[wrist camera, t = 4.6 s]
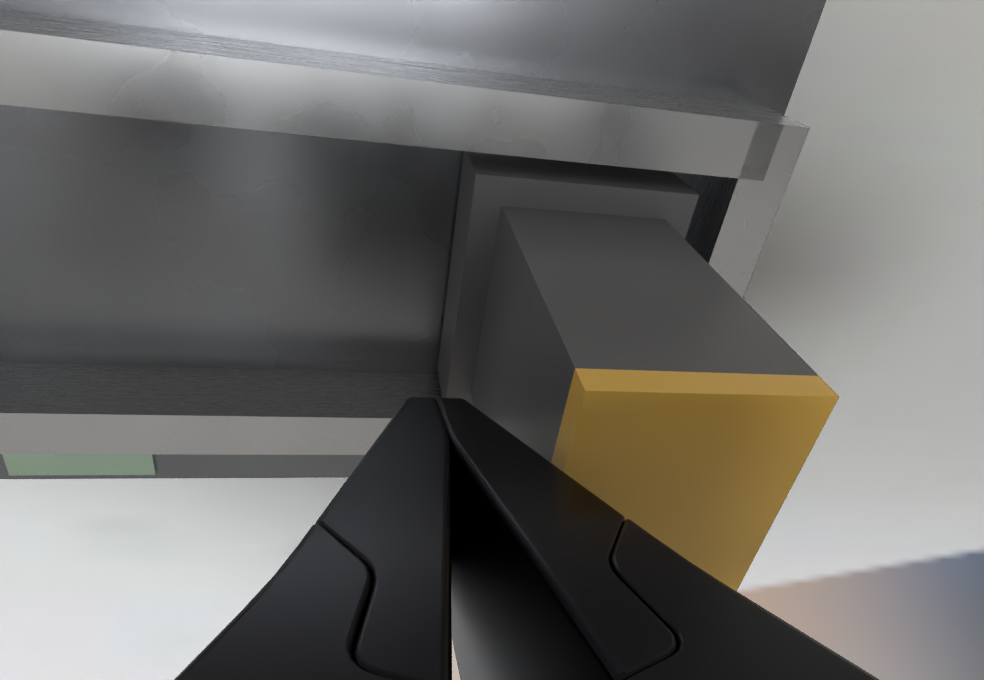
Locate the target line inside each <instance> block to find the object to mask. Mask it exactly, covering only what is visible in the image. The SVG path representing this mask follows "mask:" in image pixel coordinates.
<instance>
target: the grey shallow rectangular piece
mask: <svg viewBox="0 0 984 680" xmlns="http://www.w3.org/2000/svg"><path fill="white" fill-rule="evenodd" d="M825 2H826V0H0V479H94V478H301V477H350V475H351V474H352V472H353V471H354V470H355V468H356V467H357V466H358V464H359V463H360V461H361V460H362V459H363V457H364V456H365V455H366V453H367V452H368V450H369V449H370V448H371V446H372V445H373V444H374V442H375V441H376V440H377V438H378V437H379V435H380V434H381V433H382V431H383V430H384V429H385V427H386V426H387V424H388V423H389V422H390V420H391V419H392V418H393V416H394V415H395V413H396V412H397V411H398V409H399V408H400V407H401V405H402V404H403V403H404V401H405V400H406V399H407V398H409V397H426V398H434V399H438V398H442V396H441V389H440V382H439V375H438V361H439V353H440V345H441V336H442V328H443V320H444V311H445V303H446V295H447V287H448V278H449V270H450V262H451V254H452V245H453V237H454V229H455V220H456V212H457V204H458V196H459V187H460V179H461V171H462V162H463V154H464V151H469V152H479V153H489V154H499V155H509V156H519V157H529V158H539V159H549V160H559V161H569V162H579V163H589V164H599V165H609V166H619V167H629V168H639V169H649V170H659V171H669V172H672V173H674V174H675V175H676V176H677V177H678V178H680V179H681V180H682V181H683V182H684V183H686V184H687V185H688V186H689V187H690V188H691V189H693V190H694V191H695V192H696V193H697V194H699V197H698V200H697V203H696V206H695V209H694V212H693V216H692V219H691V222H690V225H689V228H688V231H687V234H686V237H685V240H686V241H687V242H688V243H689V244H690V245H691V246H692V247H693V248H694V249H695V250H696V251H697V252H698V253H699V254H700V256H701V257H702V258H703V259H704V260H705V261H706V262H707V263H708V264H709V265H710V266H711V267H712V268H713V269H714V270H715V271H716V272H717V273H718V274H719V275H720V276H721V277H722V278H723V279H724V280H725V281H726V282H727V283H728V284H729V285H730V286H731V287H732V288H733V289H734V290H735V291H736V292H737V293H738V294H739V295H740V296H741V297H742V298H743V297H744V294H745V291H746V289H747V286H748V284H749V281H750V279H751V276H752V274H753V271H754V268H755V266H756V263H757V261H758V258H759V256H760V253H761V251H762V248H763V246H764V243H765V240H766V238H767V235H768V233H769V230H770V228H771V225H772V223H773V220H774V217H775V215H776V212H777V210H778V207H779V205H780V202H781V200H782V197H783V195H784V192H785V189H786V187H787V184H788V182H789V179H790V177H791V174H792V172H793V169H794V166H795V164H796V161H797V159H798V156H799V154H800V151H801V149H802V146H803V144H804V141H805V138H806V136H807V133H808V131H809V127H807V126H805V125H803V124H801V123H798V122H796V121H794V120H792V119H790V118H788V117H786V116H784V114H785V111H786V108H787V106H788V103H789V100H790V97H791V95H792V92H793V89H794V87H795V84H796V81H797V78H798V76H799V73H800V70H801V68H802V65H803V62H804V59H805V57H806V54H807V51H808V49H809V46H810V43H811V40H812V38H813V35H814V32H815V30H816V27H817V24H818V21H819V19H820V16H821V13H822V10H823V8H824V5H825Z"/></svg>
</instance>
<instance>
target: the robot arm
mask: <svg viewBox="0 0 984 680" xmlns="http://www.w3.org/2000/svg"><path fill="white" fill-rule="evenodd" d="M452 640H453V645H454V650H455V655H456V659H457V664H458V669H459V674H460V679H461V680H879V679H877V678H876V677H874V676H873V675H871V674H869V673H868V672H866V671H865V670H863V669H861V668H860V667H858V666H856V665H855V664H853V663H852V662H850V661H848V660H846V659H845V658H843V657H842V656H840V655H839V654H837V653H835V652H834V651H832V650H830V649H829V648H827V647H826V646H824V645H822V644H821V643H819V642H817V641H816V640H814V639H813V638H811V637H809V636H808V635H806V634H805V633H803V632H801V631H800V630H798V629H796V628H795V627H793V626H792V625H790V624H788V623H787V622H785V621H783V620H782V619H780V618H779V617H777V616H775V615H774V614H772V613H770V612H769V611H767V610H765V609H764V608H762V607H761V606H759V605H757V604H756V603H754V602H752V601H751V600H749V599H748V598H746V597H745V596H743V595H741V594H740V593H738V592H736V591H735V590H733V589H732V588H730V587H729V586H727V585H725V584H724V583H722V582H721V581H719V580H718V579H716V578H714V577H713V576H711V575H710V574H708V573H707V572H705V571H704V570H702V569H700V568H699V567H697V566H696V565H694V564H693V563H691V562H689V561H688V560H687V559H685V558H684V557H682V556H681V555H679V554H678V553H677V552H675V551H674V550H672V549H671V548H669V547H668V546H667V545H665V544H664V543H662V542H661V541H659V540H658V539H656V538H655V537H654V536H652V535H651V534H649V533H648V532H647V531H645V530H644V529H643V528H641V527H640V526H638V525H637V524H636V523H634V522H633V521H632V520H630V519H626V520H625V517H624V516H623V515H622V514H620V513H619V512H618V511H616V510H615V509H614V508H612V507H611V506H609V505H608V504H607V503H605V502H604V501H603V500H601V499H600V498H599V497H597V496H596V495H594V494H593V493H592V492H590V491H589V490H588V489H586V488H585V487H583V486H582V485H581V484H579V483H578V482H577V481H575V480H574V479H573V478H571V477H570V476H568V475H567V474H566V473H564V472H563V471H562V470H560V469H559V468H558V467H556V466H555V465H553V464H552V463H551V462H549V461H548V460H547V459H545V458H544V457H543V456H541V455H540V454H538V453H537V452H536V451H534V450H533V449H532V448H530V447H529V446H528V445H526V444H525V443H523V442H522V441H521V440H519V439H518V438H517V437H515V436H514V435H513V434H511V433H510V432H508V431H507V430H506V429H504V428H503V427H502V426H500V425H499V424H498V423H496V422H495V421H493V420H492V419H491V418H489V417H488V416H487V415H485V414H484V413H483V412H481V411H480V410H478V409H477V408H476V407H474V406H473V405H472V404H470V403H469V402H468V401H466V400H464V399H462V398H438V399H434V398H426V397H409V398H407V399H406V400H405V401H404V403H403V404H402V405H401V407H400V408H399V409H398V411H397V412H396V413H395V415H394V416H393V418H392V419H391V420H390V422H389V423H388V424H387V426H386V427H385V429H384V430H383V431H382V433H381V434H380V435H379V437H378V438H377V440H376V441H375V442H374V444H373V445H372V446H371V448H370V449H369V450H368V452H367V453H366V455H365V456H364V457H363V459H362V460H361V461H360V463H359V464H358V466H357V467H356V468H355V470H354V471H353V472H352V474H351V475H350V477H349V478H348V479H347V481H346V482H345V483H344V485H343V486H342V487H341V489H340V490H339V492H338V493H337V494H336V496H335V497H334V498H333V500H332V501H331V503H330V504H329V505H328V507H327V508H326V509H325V511H324V512H323V514H322V515H321V516H320V518H319V519H318V520H317V522H316V524H315V525H313V526H312V527H311V528H310V530H309V531H308V533H307V534H306V535H305V537H304V538H303V539H302V541H301V542H300V544H299V545H298V546H297V548H296V549H295V550H294V551H293V553H292V554H291V555H290V556H289V558H288V559H287V560H286V561H285V563H284V564H283V565H282V566H281V568H280V569H279V570H278V571H277V573H276V574H275V575H274V576H273V577H272V579H271V580H270V581H269V582H268V583H267V584H266V585H265V586H264V587H263V588H262V589H261V590H260V592H259V593H258V594H257V595H256V596H255V597H254V598H253V599H252V600H251V601H250V602H249V603H248V604H247V606H246V607H245V608H244V609H243V610H242V611H241V612H240V613H239V614H238V615H237V616H236V617H235V618H234V619H233V620H232V621H231V622H230V623H229V624H228V625H227V626H226V627H225V628H224V629H223V630H222V631H221V632H220V633H219V635H218V636H217V637H216V638H215V639H214V640H213V641H212V642H211V643H210V644H209V645H208V646H207V647H206V648H205V649H204V650H203V651H202V652H201V653H200V654H199V655H198V656H197V657H196V658H195V659H194V660H193V661H192V662H191V663H190V664H189V665H188V666H187V667H186V668H185V669H184V670H183V671H182V672H181V673H180V674H179V675H178V676H177V677H176V678H175V679H174V680H452Z"/></svg>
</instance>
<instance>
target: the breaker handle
mask: <svg viewBox="0 0 984 680" xmlns="http://www.w3.org/2000/svg"><path fill="white" fill-rule="evenodd" d="M698 197H699V194H697V193H696V192H695V191H694V190H693V189H691V188H690V187H689V186H688V185H687V184H686V183H684V182H683V181H682V180H681V179H680V178H678V177H677V176H676V175H675V174H674V173H672V172H669V171H659V170H649V169H639V168H629V167H619V166H609V165H599V164H589V163H579V162H569V161H559V160H549V159H539V158H529V157H519V156H509V155H499V154H489V153H479V152H469V151H464V154H463V162H462V171H461V179H460V187H459V196H458V204H457V212H456V220H455V229H454V237H453V245H452V254H451V262H450V270H449V278H448V287H447V295H446V303H445V311H444V320H443V328H442V336H441V345H440V353H439V361H438V375H439V382H440V389H441V396H442V398H462V399H464V400H466V401H468V402H469V403H470V404H472V405H473V406H474V407H476V408H477V409H478V410H480V411H481V412H483V413H484V414H485V415H487V416H488V417H489V418H491V419H492V420H493V421H495V422H496V423H498V424H499V425H500V426H502V427H503V428H504V429H506V430H507V431H508V432H510V433H511V434H513V435H514V436H515V437H517V438H518V439H519V440H521V441H522V442H523V443H525V444H526V445H528V446H529V447H530V448H532V449H533V450H534V451H536V452H537V453H538V454H540V455H541V456H543V457H544V458H545V459H547V460H548V461H549V462H551V463H552V464H553V465H555V466H556V467H558V468H559V469H560V470H562V471H563V472H564V473H566V474H567V475H568V476H570V477H571V478H573V479H574V480H575V481H577V482H578V483H579V484H581V485H582V486H583V487H585V488H586V489H588V490H589V491H590V492H592V493H593V494H594V495H596V496H597V497H599V498H600V499H601V500H603V501H604V502H605V503H607V504H608V505H609V506H611V507H612V508H614V509H615V510H616V511H618V512H619V513H620V514H622V515H623V516H624V517H625V520H626V519H630V520H632V521H633V522H634V523H636V524H637V525H638V526H640V527H641V528H643V529H644V530H645V531H647V532H648V533H649V534H651V535H652V536H654V537H655V538H656V539H658V540H659V541H661V542H662V543H664V544H665V545H667V546H668V547H669V548H671V549H672V550H674V551H675V552H677V553H678V554H679V555H681V556H682V557H684V558H685V559H687V560H688V561H689V562H691V563H693V564H694V565H696V566H697V567H699V568H700V569H702V570H704V571H705V572H707V573H708V574H710V575H711V576H713V577H714V578H716V579H718V580H719V581H721V582H722V583H724V584H725V585H727V586H729V587H730V588H732V589H733V590H735V591H737V589H738V588H739V586H740V584H741V582H742V580H743V578H744V576H745V574H746V572H747V571H748V569H749V567H750V565H751V563H752V561H753V559H754V557H755V555H756V553H757V552H758V550H759V548H760V546H761V544H762V542H763V540H764V538H765V536H766V535H767V533H768V531H769V529H770V527H771V525H772V523H773V521H774V519H775V517H776V516H777V514H778V512H779V510H780V508H781V506H782V504H783V502H784V500H785V499H786V497H787V495H788V493H789V491H790V489H791V487H792V485H793V483H794V481H795V480H796V478H797V476H798V474H799V472H800V470H801V468H802V466H803V464H804V463H805V461H806V459H807V457H808V455H809V453H810V451H811V449H812V447H813V445H814V444H815V442H816V440H817V438H818V436H819V434H820V432H821V430H822V428H823V427H824V425H825V423H826V421H827V419H828V417H829V415H830V413H831V411H832V409H833V408H834V406H835V404H836V402H837V400H838V398H839V396H838V395H837V394H836V393H835V392H834V391H833V390H832V389H831V388H830V387H829V386H828V385H827V384H826V383H825V382H824V381H823V380H822V379H821V378H820V377H819V376H818V375H817V374H816V373H815V372H814V371H813V370H812V368H811V367H810V366H809V365H808V364H807V363H806V362H805V361H804V360H803V359H802V358H801V357H800V356H799V355H798V354H797V353H796V352H795V351H794V350H793V349H792V348H791V347H790V346H789V345H788V344H787V343H786V342H785V341H784V340H783V339H782V338H781V337H780V336H779V335H778V334H777V333H776V332H775V331H774V330H773V329H772V328H771V327H770V326H769V325H768V324H767V323H766V322H765V321H764V320H763V319H762V318H761V317H760V316H759V315H758V314H757V313H756V311H755V310H754V309H753V308H752V307H751V306H750V305H749V304H748V303H747V302H746V301H745V300H744V299H743V298H742V297H741V296H740V295H739V294H738V293H737V292H736V291H735V290H734V289H733V288H732V287H731V286H730V285H729V284H728V283H727V282H726V281H725V280H724V279H723V278H722V277H721V276H720V275H719V274H718V273H717V272H716V271H715V270H714V269H713V268H712V267H711V266H710V265H709V264H708V263H707V262H706V261H705V260H704V259H703V258H702V257H701V256H700V254H699V253H698V252H697V251H696V250H695V249H694V248H693V247H692V246H691V245H690V244H689V243H688V242H687V241H686V240H685V237H686V234H687V231H688V228H689V225H690V222H691V219H692V216H693V212H694V209H695V206H696V203H697V200H698Z"/></svg>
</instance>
